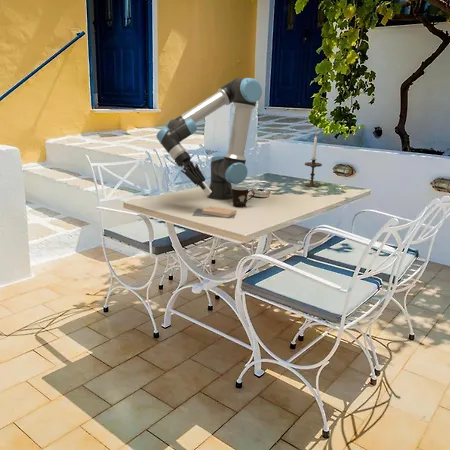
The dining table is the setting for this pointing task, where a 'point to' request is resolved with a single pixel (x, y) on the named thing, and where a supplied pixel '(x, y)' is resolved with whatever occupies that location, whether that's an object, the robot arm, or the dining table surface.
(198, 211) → the mat
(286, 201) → the dining table surface
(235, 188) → the coffee mug
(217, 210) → the tile
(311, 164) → the candlestick
